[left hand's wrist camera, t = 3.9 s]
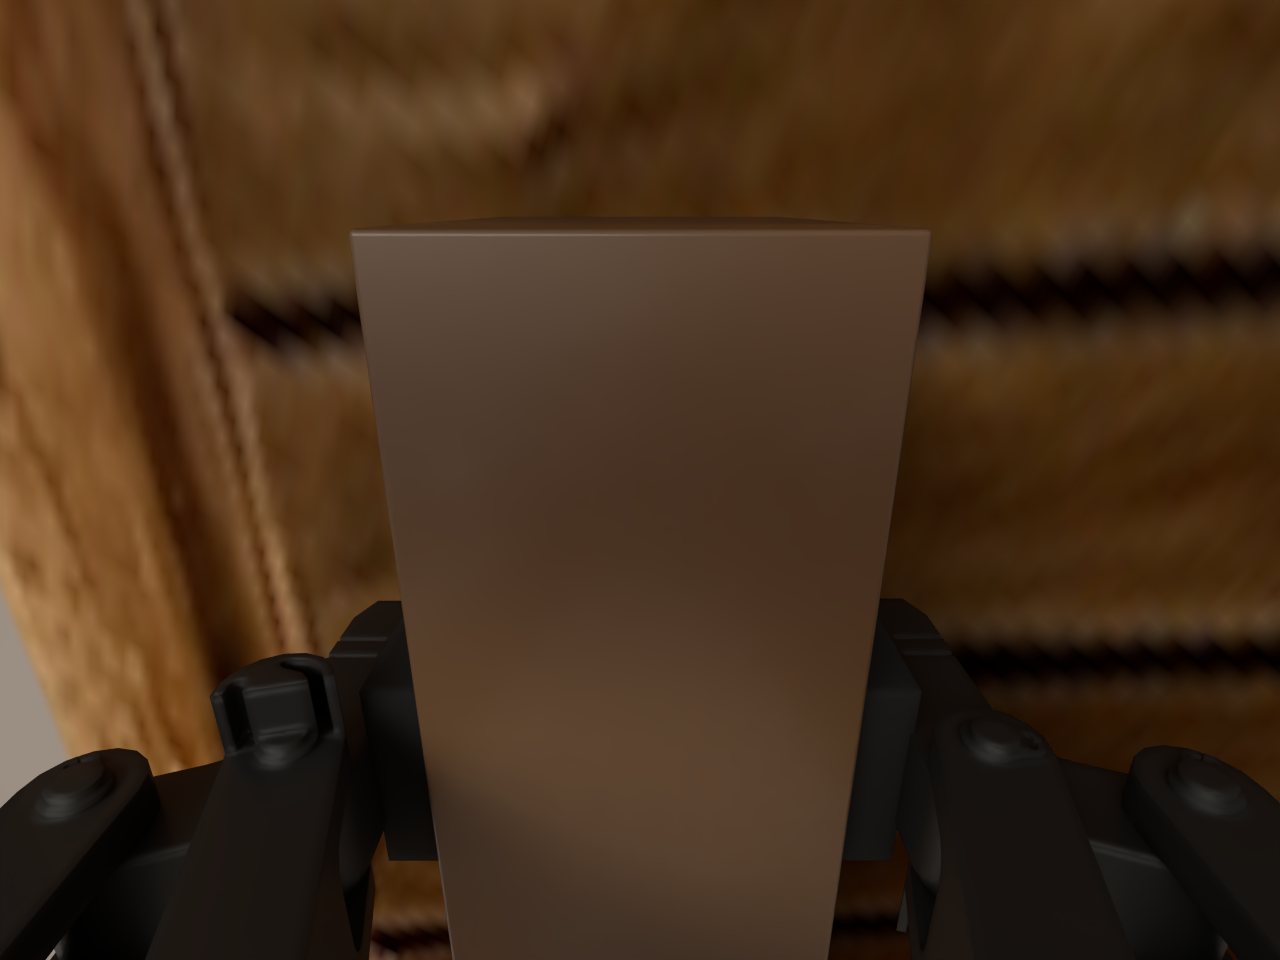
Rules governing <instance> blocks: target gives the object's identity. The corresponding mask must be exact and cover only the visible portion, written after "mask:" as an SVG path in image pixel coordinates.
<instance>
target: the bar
mask: <svg viewBox="0 0 1280 960" xmlns="http://www.w3.org/2000/svg"><path fill="white" fill-rule="evenodd" d="M931 240H932V233H931V231H930V230H928V229H925V228H912V227H899V226H886V225H874V224H861V223H848V222H835V221H822V220H809V219H796V218H783V217H497V218H484V219H471V220H458V221H446V222H433V223H420V224H407V225H394V226H381V227H369V228H356V229H353V230H351V231H350V232H349V241H350V248H351V255H352V262H353V269H354V276H355V283H356V290H357V297H358V304H359V311H360V318H361V325H362V332H363V339H364V346H365V353H366V360H367V366H368V373H369V380H370V387H371V394H372V401H373V408H374V415H375V422H376V429H377V436H378V443H379V450H380V457H381V464H382V471H383V478H384V485H385V491H386V498H387V505H388V512H389V519H390V526H391V533H392V540H393V547H394V554H395V561H396V568H397V575H398V582H399V589H400V596H401V603H402V610H403V616H404V623H405V630H406V637H407V644H408V651H409V658H410V665H411V672H412V679H413V686H414V693H415V700H416V707H417V714H418V721H419V728H420V735H421V742H422V748H423V755H424V762H425V769H426V776H427V783H428V790H429V797H430V804H431V811H432V818H433V825H434V832H435V839H436V846H437V853H438V860H439V867H440V873H441V880H442V887H443V894H444V901H445V908H446V915H447V922H448V929H449V936H450V943H451V950H452V957H453V960H828V953H829V946H830V939H831V932H832V925H833V919H834V912H835V905H836V898H837V891H838V884H839V877H840V870H841V863H842V856H843V849H844V842H845V835H846V829H847V822H848V815H849V808H850V801H851V794H852V787H853V780H854V773H855V766H856V759H857V752H858V745H859V738H860V732H861V725H862V718H863V711H864V704H865V697H866V690H867V683H868V676H869V669H870V662H871V655H872V648H873V642H874V635H875V628H876V621H877V614H878V607H879V600H880V593H881V586H882V579H883V572H884V565H885V558H886V551H887V545H888V538H889V531H890V524H891V517H892V510H893V503H894V496H895V489H896V482H897V475H898V468H899V461H900V455H901V448H902V441H903V434H904V427H905V420H906V413H907V406H908V399H909V392H910V385H911V378H912V371H913V364H914V358H915V351H916V344H917V337H918V330H919V323H920V316H921V309H922V302H923V295H924V288H925V281H926V274H927V268H928V261H929V254H930V247H931Z"/></svg>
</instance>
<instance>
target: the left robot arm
mask: <svg viewBox="0 0 1280 960" xmlns="http://www.w3.org/2000/svg"><path fill="white" fill-rule="evenodd" d="M340 638H341V639H340V641H338V642H337V643H336V645H335V646H334V647H333V649H332V650H331V652H330V653H329V658H326V659H325V658H323V657H320V656H316V655H312V654H308V653H296V654H282V655H278V656H274V657H270V658H266V659H261V660H259V661H257V662H255V663H252V664H250V665H248V666H245V667H243V668H241V669H239V670H237V671H236V672H235V673H233V674H232V675H230V676H229V677H227V678H226V679H225V680H223V681H222V682H221V683H220V684H219V685H218V687H217V688H216V689H215V690H214V692H213V693H212V694H211V696H210V699H211V703H212V707H213V710H214V714H215V718H216V721H217V725H218V728H219V732H220V736H221V739H222V743H223V747H224V750H225V757H224V759H223V760H221V761H218V762H214V763H211V764H207V765H203V766H199V767H194V768H190V769H185V770H181V771H177V772H172V773H168V774H163V775H159V776H154V777H153V775H152V772H151V769H150V765H149V762H148V759H146V758H145V757H144V756H143V755H141V754H140V753H139V752H138V751H135V750H128V749H121V748H115V749H108V750H101V751H94V752H91V753H88V754H84V755H81V756H79V757H75V758H72V759H70V760H67V761H65V762H63V763H61V764H59V765H57V766H55V767H53V768H51V769H50V770H48V771H46V772H44V773H42V774H40V775H39V776H37V777H36V778H35V779H33V780H32V781H31V782H30V783H28V784H27V785H26V786H24V787H23V788H22V789H20V790H19V791H18V792H17V793H16V794H15V795H14V796H12V797H11V798H10V799H9V800H8V801H7V802H6V803H5V804H4V805H3V806H2V807H1V808H0V960H46V959H47V957H48V956H49V955H50V953H51V952H52V951H53V949H54V950H55V952H56V953H55V954H54V956H53V957H52V958H51V959H50V960H369V951H370V940H371V930H372V919H373V909H374V898H375V883H374V876H373V870H372V865H371V860H372V858H373V855H374V853H375V850H376V848H377V845H378V843H379V840H380V838H381V836H382V833H383V831H384V835H385V840H386V846H387V851H388V857H389V861H439V860H438V853H437V846H436V839H435V832H434V825H433V818H432V811H431V804H430V797H429V790H428V783H427V776H426V769H425V762H424V755H423V748H422V742H421V735H420V728H419V721H418V714H417V707H416V700H415V693H414V686H413V679H412V672H411V665H410V658H409V651H408V644H407V637H406V630H405V623H404V616H403V610H402V603H401V601H377V602H376V603H374V604H373V605H372V606H370V607H369V608H367V609H366V610H364V611H363V612H362V613H360V614H359V615H357V616H356V617H355V618H354V619H353V620H352V622H351V623H350V624H349V626H348V627H347V629H346V630H345V632H344V633H343V635H342V636H341V637H340ZM897 829H898V831H899V834H900V836H901V838H902V841H903V843H904V846H905V848H906V850H907V853H908V855H909V858H910V860H909V865H908V870H907V876H906V881H905V886H904V891H903V896H902V902H901V907H900V912H899V918H898V924H897V931H901V932H906V928H907V923H908V928H909V939H910V949H911V960H1233V959H1232V957H1231V956H1230V955H1229V953H1228V952H1227V951H1226V949H1227V947H1228V946H1229V948H1230V949H1231V950H1232V951H1233V953H1234V954H1235V955H1236V957H1237V958H1238V959H1239V960H1280V803H1279V802H1278V801H1277V800H1276V799H1275V798H1274V797H1273V796H1272V795H1270V794H1269V793H1268V792H1267V791H1266V790H1265V789H1264V788H1263V787H1261V786H1260V785H1259V784H1257V783H1256V782H1255V781H1254V780H1252V779H1251V778H1250V777H1248V776H1247V775H1246V774H1245V773H1243V772H1242V771H1240V770H1238V769H1236V768H1234V767H1232V766H1230V765H1228V764H1226V763H1224V762H1223V761H1221V760H1219V759H1217V758H1215V757H1212V756H1209V755H1206V754H1203V753H1200V752H1197V751H1194V750H1191V749H1187V748H1180V747H1173V746H1165V745H1162V746H1155V747H1148V748H1144V749H1143V750H1142V751H1140V752H1139V753H1138V754H1137V755H1135V756H1134V758H1133V761H1132V764H1131V767H1130V770H1129V773H1128V774H1126V773H1121V772H1117V771H1112V770H1108V769H1103V768H1099V767H1094V766H1090V765H1085V764H1081V763H1077V762H1073V761H1069V760H1066V759H1063V758H1059V757H1056V755H1055V753H1054V751H1053V750H1052V748H1051V747H1050V745H1049V744H1048V742H1047V741H1046V739H1045V738H1044V737H1043V736H1042V735H1040V734H1039V733H1038V732H1037V731H1035V730H1034V729H1033V728H1032V727H1030V726H1029V725H1028V724H1026V723H1024V722H1022V721H1020V720H1018V719H1016V718H1014V717H1012V716H1010V715H1008V714H1006V713H1003V712H999V711H996V710H992V708H991V707H990V705H989V704H988V703H987V701H986V700H985V698H984V697H983V695H982V694H981V692H980V691H979V690H978V688H977V687H976V685H975V684H974V682H973V681H972V680H971V678H970V677H969V675H968V674H967V672H966V671H965V670H964V668H963V667H962V665H961V664H960V662H959V661H958V660H957V658H956V657H955V656H952V651H951V650H950V648H949V647H948V645H947V644H946V642H945V641H944V640H943V639H941V638H940V634H939V632H938V631H937V630H936V628H935V627H934V625H933V624H932V622H931V621H930V620H929V618H928V617H927V615H925V614H924V613H922V612H921V611H919V610H918V609H917V608H915V607H914V606H912V605H911V604H909V603H908V602H907V601H905V600H904V599H880V600H879V607H878V614H877V621H876V628H875V635H874V642H873V648H872V655H871V662H870V669H869V676H868V683H867V690H866V697H865V704H864V711H863V718H862V725H861V732H860V738H859V745H858V752H857V759H856V766H855V773H854V780H853V787H852V794H851V801H850V808H849V815H848V822H847V829H846V835H845V842H844V849H843V856H842V861H891V859H892V854H893V848H894V843H895V837H896V831H897Z"/></svg>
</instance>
